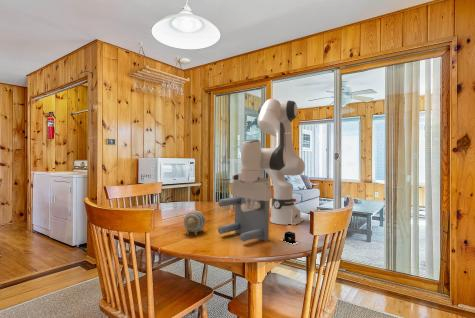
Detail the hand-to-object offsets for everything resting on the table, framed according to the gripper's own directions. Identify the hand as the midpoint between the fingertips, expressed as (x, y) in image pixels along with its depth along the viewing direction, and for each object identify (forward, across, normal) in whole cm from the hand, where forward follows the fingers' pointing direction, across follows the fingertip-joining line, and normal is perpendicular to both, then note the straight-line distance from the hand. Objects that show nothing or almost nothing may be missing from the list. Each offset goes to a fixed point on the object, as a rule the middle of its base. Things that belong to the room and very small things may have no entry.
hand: (250, 208), depth 117 cm
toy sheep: (+16, +33, +5) cm, 37 cm away
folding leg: (+2, +3, -4) cm, 5 cm away
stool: (+16, +11, -6) cm, 20 cm away
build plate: (+17, -8, -19) cm, 27 cm away
